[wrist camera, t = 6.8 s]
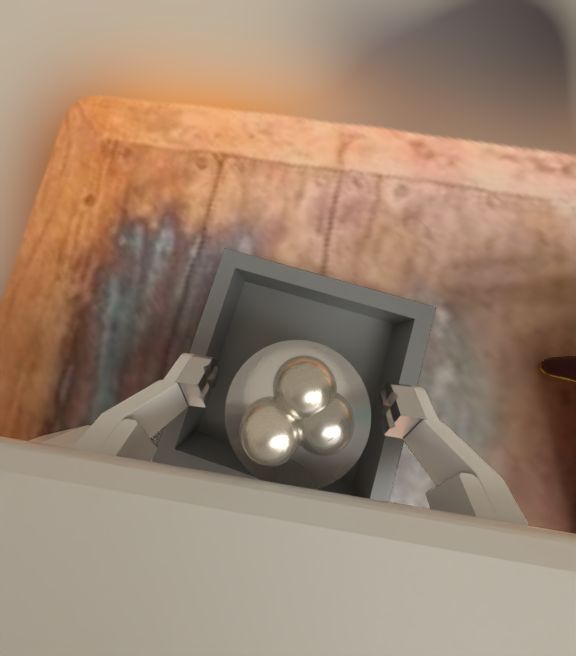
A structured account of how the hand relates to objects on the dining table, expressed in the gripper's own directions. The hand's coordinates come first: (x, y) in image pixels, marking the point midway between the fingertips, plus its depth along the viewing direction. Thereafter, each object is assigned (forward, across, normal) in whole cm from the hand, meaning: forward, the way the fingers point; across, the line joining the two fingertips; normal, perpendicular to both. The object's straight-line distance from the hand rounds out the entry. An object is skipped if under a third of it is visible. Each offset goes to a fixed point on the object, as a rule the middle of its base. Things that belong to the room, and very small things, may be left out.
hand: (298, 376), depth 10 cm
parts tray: (+3, 0, +4) cm, 5 cm away
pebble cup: (+3, 0, +4) cm, 4 cm away
